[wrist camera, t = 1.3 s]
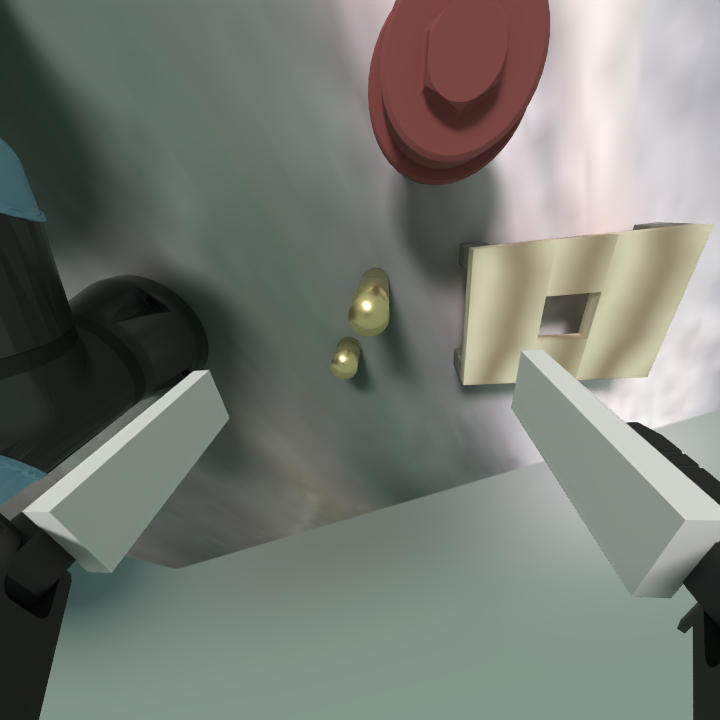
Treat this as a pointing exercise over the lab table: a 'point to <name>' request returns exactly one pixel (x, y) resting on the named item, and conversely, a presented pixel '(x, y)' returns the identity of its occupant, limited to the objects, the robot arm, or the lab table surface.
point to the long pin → (371, 304)
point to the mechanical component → (454, 82)
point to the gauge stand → (576, 276)
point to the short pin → (346, 358)
